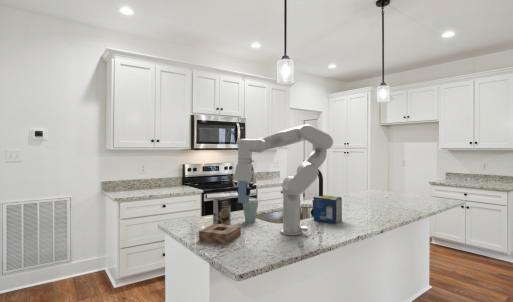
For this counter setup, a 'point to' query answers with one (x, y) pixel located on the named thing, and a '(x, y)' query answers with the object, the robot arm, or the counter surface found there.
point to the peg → (242, 192)
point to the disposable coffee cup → (250, 209)
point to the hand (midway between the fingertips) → (243, 194)
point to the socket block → (220, 233)
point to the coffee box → (222, 211)
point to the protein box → (328, 209)
